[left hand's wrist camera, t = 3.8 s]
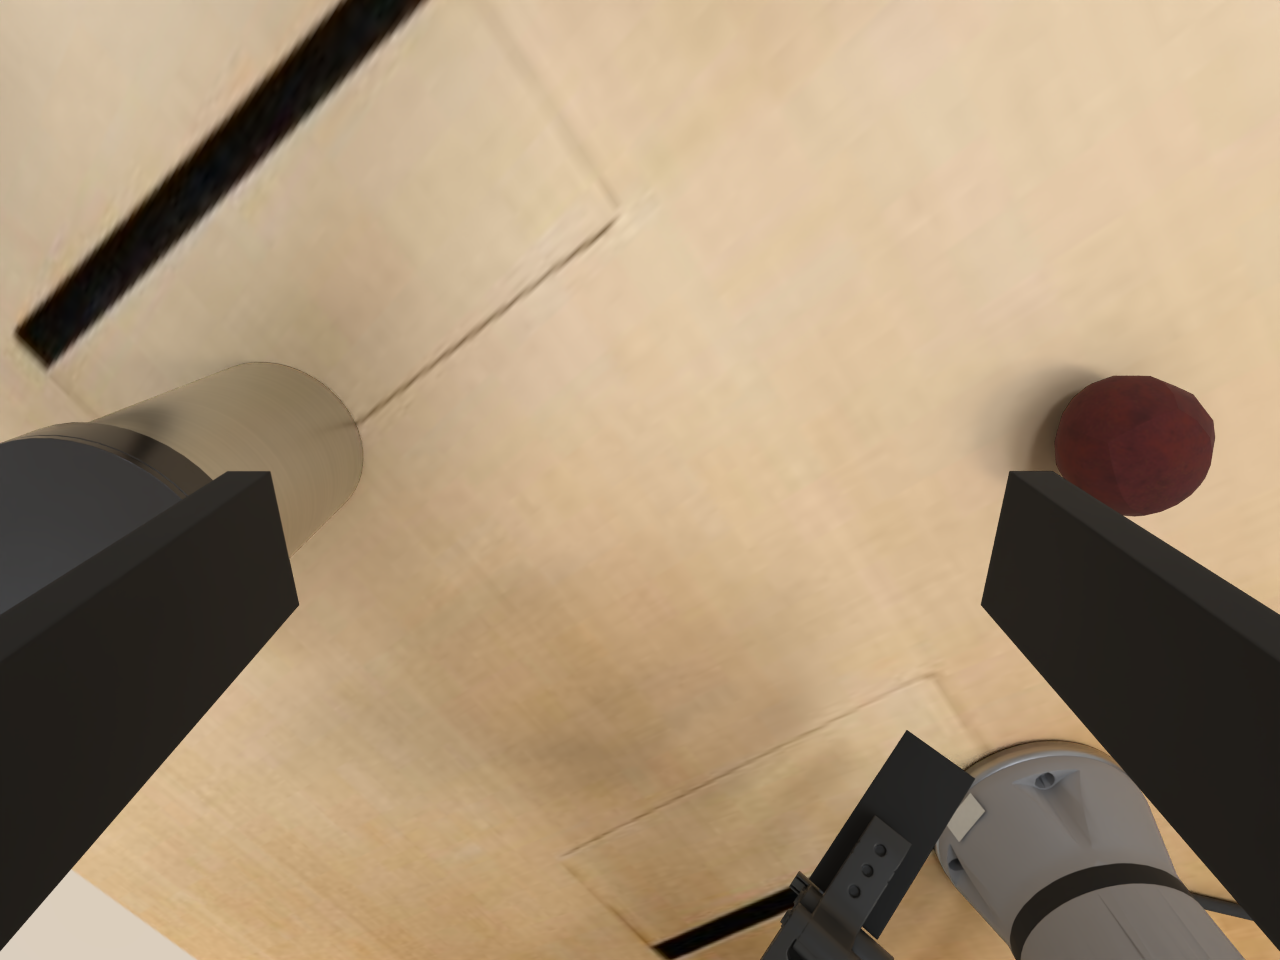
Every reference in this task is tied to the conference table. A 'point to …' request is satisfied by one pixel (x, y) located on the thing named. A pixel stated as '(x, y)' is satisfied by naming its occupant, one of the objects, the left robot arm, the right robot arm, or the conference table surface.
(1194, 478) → the plum
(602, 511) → the conference table surface
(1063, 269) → the conference table surface
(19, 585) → the lid
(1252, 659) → the left robot arm
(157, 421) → the jar
